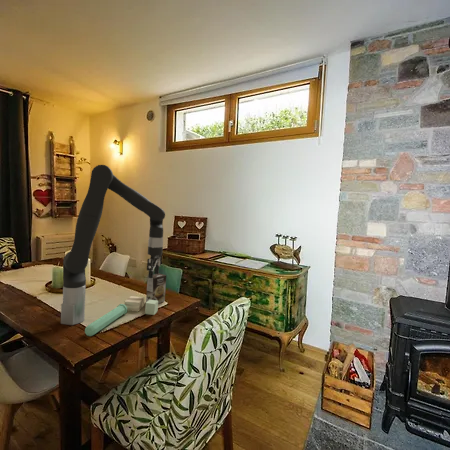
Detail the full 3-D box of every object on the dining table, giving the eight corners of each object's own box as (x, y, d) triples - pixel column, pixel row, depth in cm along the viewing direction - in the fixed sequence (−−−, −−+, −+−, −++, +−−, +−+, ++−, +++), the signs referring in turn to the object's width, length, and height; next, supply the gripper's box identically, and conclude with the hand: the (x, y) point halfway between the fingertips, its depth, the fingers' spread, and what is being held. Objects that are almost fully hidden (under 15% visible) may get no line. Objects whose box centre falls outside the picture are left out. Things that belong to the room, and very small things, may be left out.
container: (91, 324, 112) (125, 302, 137) (80, 327, 114) (115, 304, 138) (95, 337, 112) (129, 313, 137) (84, 340, 114) (119, 315, 138)
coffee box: (152, 305, 151) (154, 278, 150) (145, 302, 155) (147, 275, 153) (165, 301, 158) (166, 275, 157) (158, 298, 162) (159, 272, 161)
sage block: (154, 315, 139) (154, 304, 139) (145, 313, 140) (145, 302, 139) (157, 311, 144) (158, 300, 144) (148, 310, 145) (149, 299, 144)
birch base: (138, 311, 142) (139, 302, 142) (124, 310, 142) (124, 301, 142) (143, 306, 150) (144, 297, 150) (130, 304, 150) (130, 296, 150)
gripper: (153, 242, 146) (151, 271, 148) (143, 247, 132) (141, 278, 134) (166, 244, 146) (165, 273, 147) (157, 248, 131) (155, 280, 133)
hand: (153, 275), depth 140 cm, fingers open, 8 cm apart
